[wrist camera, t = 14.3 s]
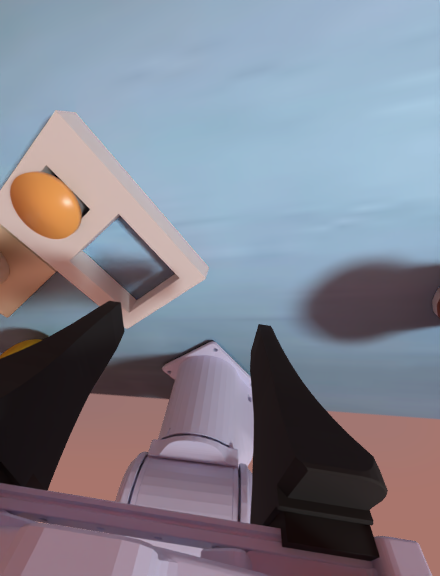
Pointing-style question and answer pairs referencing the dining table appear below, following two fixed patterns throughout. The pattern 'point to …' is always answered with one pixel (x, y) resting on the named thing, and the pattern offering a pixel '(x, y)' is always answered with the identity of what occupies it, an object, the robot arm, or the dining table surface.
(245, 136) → the dining table surface
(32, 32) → the dining table surface
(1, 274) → the cylinder
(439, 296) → the coffee cup
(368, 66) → the dining table surface
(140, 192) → the beige flat frame
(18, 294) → the birch board
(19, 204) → the orange dome button
